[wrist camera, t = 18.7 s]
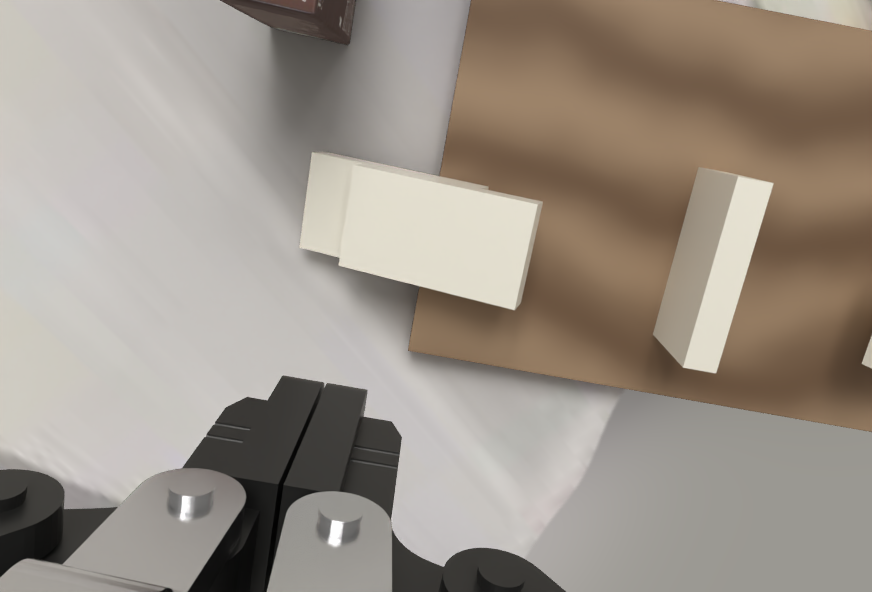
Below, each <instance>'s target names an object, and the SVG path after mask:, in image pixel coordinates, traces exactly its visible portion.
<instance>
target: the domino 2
mask: <svg viewBox="0 0 872 592" xmlns="http://www.w3.org/2000/svg"><path fill="white" fill-rule="evenodd" d="M542 204H543V202H542V201H537V200H533V199H528V198H523V197H519V196H514V195H509V194H505V193H500V192H495V191H491V190H486V189H481V188H477V187H472V186H467V185H463V184H458V183H453V182H448V181H444V180H439V179H434V178H430V177H425V176H420V175H416V174H411V173H406V172H402V171H397V170H392V169H388V168H383V167H378V166H374V165H369V164H358V165H353V172H352V179H351V185H350V192H349V199H348V206H347V212H346V219H345V226H344V233H343V239H342V246H341V253H340V259H339V266H342V267H346V268H350V269H354V270H358V271H362V272H366V273H369V274H373V275H377V276H381V277H385V278H389V279H393V280H397V281H401V282H405V283H409V284H413V285H417V286H421V287H425V288H429V289H433V290H437V291H441V292H445V293H448V294H452V295H456V296H460V297H464V298H468V299H472V300H476V301H480V302H484V303H488V304H492V305H496V306H500V307H504V308H508V309H512V310H515V309H516V308H517V307H518V306H519V305H520V303H521V300H522V295H523V291H524V286H525V282H526V277H527V273H528V268H529V264H530V259H531V254H532V250H533V245H534V241H535V236H536V232H537V227H538V223H539V218H540V213H541V209H542Z"/></svg>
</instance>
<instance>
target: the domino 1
mask: <svg viewBox="0 0 872 592" xmlns="http://www.w3.org/2000/svg"><path fill="white" fill-rule="evenodd" d="M358 164H369V165H374V166H378V167H383V168H388V169H392V170H397V171H402V172H406V173H411V174H416V175H420V176H425V177H430V178H434V179H439V180H444V181H448V182H453V183H458V184H463V185H467V186H472V187H477V188H481V189H486V190H488V188H489V187H488V186H483V185H479V184H474V183H469V182H464V181H460V180H455V179H450V178H446V177H441V176H436V175H432V174H427V173H422V172H418V171H413V170H408V169H404V168H399V167H394V166H389V165H385V164H380V163H375V162H371V161H366V160H361V159H357V158H352V157H347V156H343V155H338V154H333V153H329V152H312V155H311V163H310V170H309V178H308V185H307V193H306V200H305V207H304V215H303V222H302V230H301V237H300V245H299V248H303V249H307V250H311V251H315V252H319V253H323V254H327V255H331V256H335V257H339V258H340V253H341V246H342V239H343V233H344V226H345V219H346V212H347V206H348V199H349V192H350V185H351V179H352V172H353V165H358Z"/></svg>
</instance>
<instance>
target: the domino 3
mask: <svg viewBox="0 0 872 592" xmlns="http://www.w3.org/2000/svg"><path fill="white" fill-rule="evenodd" d="M773 184H774V183H771V182H766V181H762V180H758V179H754V178H749V177H745V176H741V175H737V174H732V173H728V172H723V171H717V170H712V169H707V168H701V167H698V171H697V175H696V178H695V182H694V186H693V189H692V193H691V197H690V200H689V204H688V208H687V211H686V215H685V219H684V222H683V226H682V230H681V233H680V237H679V241H678V244H677V248H676V252H675V255H674V259H673V263H672V266H671V270H670V273H669V277H668V281H667V284H666V288H665V292H664V295H663V299H662V303H661V306H660V310H659V314H658V317H657V321H656V325H655V328H654V332H653V335H654V336H655V337H656V339H657V340H658V341H659V342H660V343H661V344H662V345H663V346H664V347H665V348H666V350H667V351H668V352H669V353H670V354H671V355H672V356H673V357H674V358H675V359H676V361H677V362H678V363H679V364H680V365H681V366H682V367H683V368H688V369H694V370H699V371H705V372H711V373H716V372H717V369H718V366H719V362H720V359H721V356H722V352H723V349H724V346H725V342H726V339H727V336H728V332H729V329H730V326H731V323H732V319H733V316H734V313H735V309H736V306H737V303H738V299H739V296H740V293H741V289H742V286H743V283H744V280H745V276H746V273H747V270H748V266H749V263H750V260H751V256H752V253H753V250H754V246H755V243H756V240H757V237H758V233H759V230H760V227H761V223H762V220H763V217H764V213H765V210H766V207H767V203H768V200H769V197H770V194H771V190H772V187H773Z"/></svg>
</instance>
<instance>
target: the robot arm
mask: <svg viewBox="0 0 872 592" xmlns="http://www.w3.org/2000/svg"><path fill="white" fill-rule="evenodd" d="M366 398H367V390H365V389H359V388H353V387H347V386H342V385H336V384H330V383H327V384H326V386H325V388H324V383H323V382H318V381H312V380H306V379H300V378H294V377H289V376H282V377H281V379H280V381H279V382H278V384H277V386H276V387H275V389H274V391H273V392H272V394H271V396H270V397H269V399H268V401H267V400H261V399H255V398H250V397H246V398H244V399H242V400H240V401H238V402H236V403H234V404H232V405H230V406H228V407H226V408H225V410H224V411H223V412H222V414H221V415H220V416H219V418H218V419H217V421H216V422H215V425H213V426H212V428H211V429H210V430H209V432H208V433H207V436H206V437H204V439H203V440H202V441H201V443H200V444H199V446H198V447H197V448H196V450H195V451H194V452H193V454H192V455H191V457H190V458H189V459H188V461H187V462H186V464H185V465H184V466H183V468H182V469H175V470H170V471H165V472H162V473H159V474H156V475H154V476H152V477H150V478H148V479H147V480H145V481H144V482H143V483H141V484H140V485H139V486H138V487H137V488H136V489H135V490H134V491H133V492H132V493H131V494H130V495H129V496H128V497H127V498H126V499H125V501H124V502H123V503H122V504H121V505H120V506H119V507H114V508H95V509H64V489H63V487H62V485H61V484H60V483H59V482H58V481H57V480H55V479H54V478H52V477H50V476H48V475H45V474H42V473H39V472H34V471H29V470H15V469H8V470H0V592H566V591H564V590H563V589H562V588H561V587H560V586H559V585H557V584H556V583H555V582H554V581H553V580H551V579H550V578H549V577H548V576H547V575H546V574H544V573H543V572H542V571H541V570H540V569H538V568H537V567H536V566H534V565H533V564H532V563H530V562H528V561H527V560H525V559H523V558H521V557H519V556H517V555H515V554H512V553H509V552H506V551H502V550H498V549H490V548H473V549H468V550H464V551H461V552H459V553H456V554H455V555H453V556H452V557H451V558H450V559H449V560H448V561H447V562H446V564H445V566H444V567H442V566H439V565H437V564H434V563H432V562H429V561H427V560H425V559H423V558H421V557H419V556H417V555H416V554H414V553H412V552H411V551H410V550H408V549H407V548H406V547H405V546H404V545H403V544H402V543H400V541H399V540H398V539H397V537H396V536H395V534H394V532H393V530H392V524H391V515H392V508H393V500H394V493H395V485H396V477H397V470H398V462H399V454H400V447H401V439H402V437H401V435H400V434H399V432H398V431H397V429H396V428H395V426H394V424H393V423H392V422H391V421H385V420H379V419H373V418H367V417H364V411H365V404H366Z"/></svg>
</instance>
